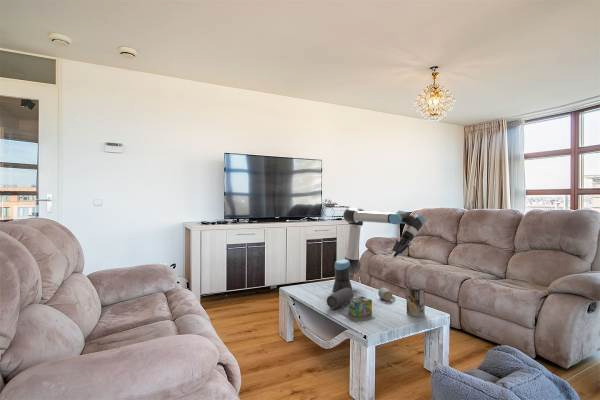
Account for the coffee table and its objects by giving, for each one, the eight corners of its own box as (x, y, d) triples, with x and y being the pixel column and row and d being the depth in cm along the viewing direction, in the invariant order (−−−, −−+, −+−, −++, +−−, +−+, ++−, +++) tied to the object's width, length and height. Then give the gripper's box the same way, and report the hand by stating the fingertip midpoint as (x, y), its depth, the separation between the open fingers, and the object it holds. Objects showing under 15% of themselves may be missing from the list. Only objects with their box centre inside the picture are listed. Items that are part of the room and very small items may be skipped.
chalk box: (362, 310, 203) (343, 314, 195) (362, 295, 203) (343, 300, 195) (372, 314, 195) (353, 319, 187) (372, 299, 195) (353, 304, 187)
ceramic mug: (383, 301, 220) (383, 290, 220) (378, 298, 228) (378, 287, 228) (397, 301, 222) (397, 289, 222) (391, 297, 230) (391, 286, 230)
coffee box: (425, 315, 193) (425, 288, 194) (420, 318, 189) (419, 291, 189) (411, 311, 200) (411, 286, 200) (406, 314, 196) (405, 287, 196)
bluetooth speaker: (342, 300, 225) (342, 285, 225) (354, 302, 220) (354, 287, 220) (325, 309, 207) (325, 293, 207) (338, 311, 201) (338, 296, 201)
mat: (337, 311, 202) (337, 310, 202) (355, 308, 208) (355, 307, 208) (355, 322, 183) (355, 321, 183) (375, 318, 189) (375, 317, 189)
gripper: (419, 238, 217) (400, 265, 210) (405, 236, 229) (387, 261, 222) (413, 231, 215) (394, 257, 208) (399, 229, 226) (381, 254, 220)
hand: (390, 259), depth 215 cm, fingers closed
